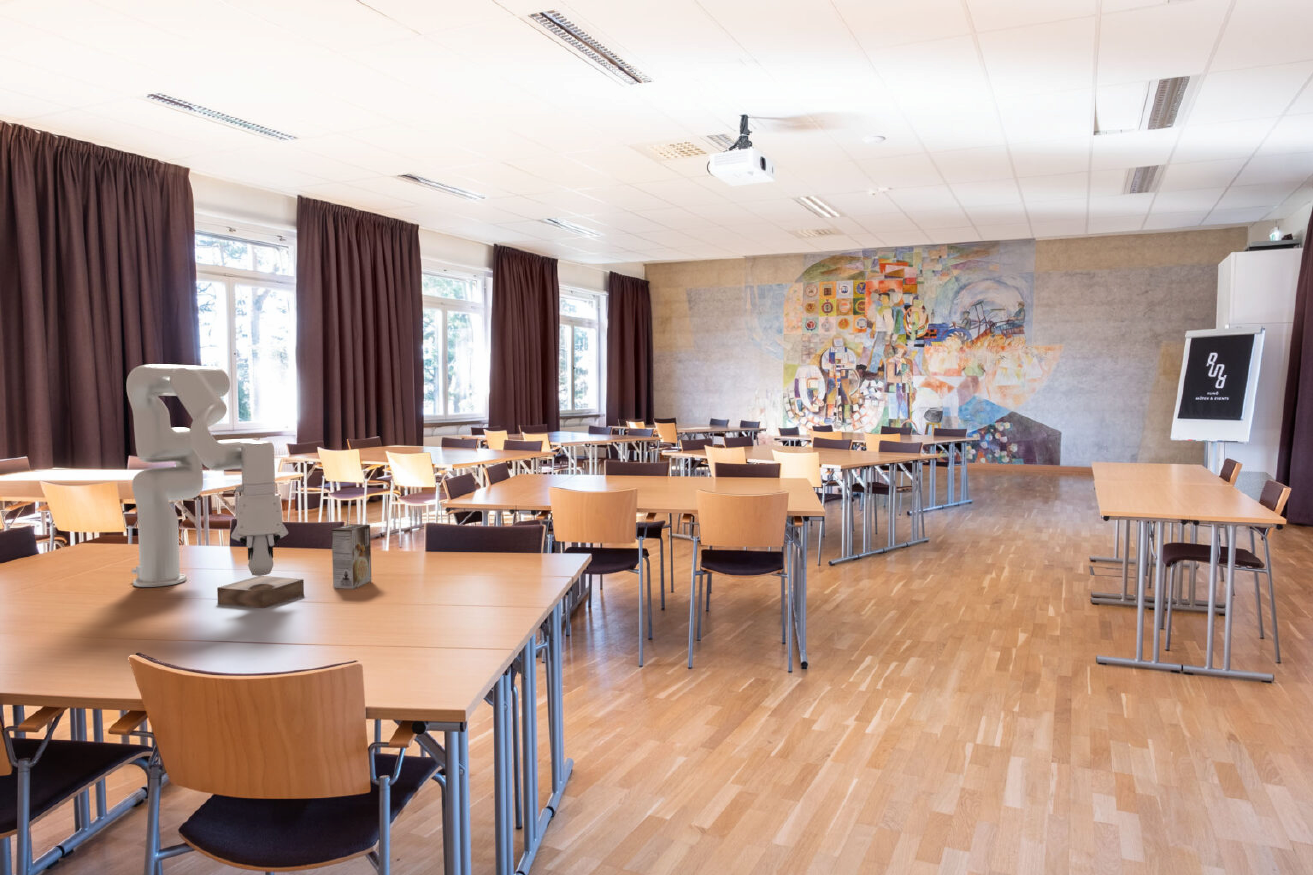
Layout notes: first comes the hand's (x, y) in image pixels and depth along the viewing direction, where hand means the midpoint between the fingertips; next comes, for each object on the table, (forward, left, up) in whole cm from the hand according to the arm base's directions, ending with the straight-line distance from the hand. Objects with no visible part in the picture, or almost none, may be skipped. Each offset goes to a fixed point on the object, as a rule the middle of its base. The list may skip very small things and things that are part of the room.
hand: (260, 561), depth 210 cm
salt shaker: (0, 0, -4) cm, 4 cm away
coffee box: (+12, +20, -10) cm, 25 cm away
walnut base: (0, 0, -10) cm, 10 cm away
